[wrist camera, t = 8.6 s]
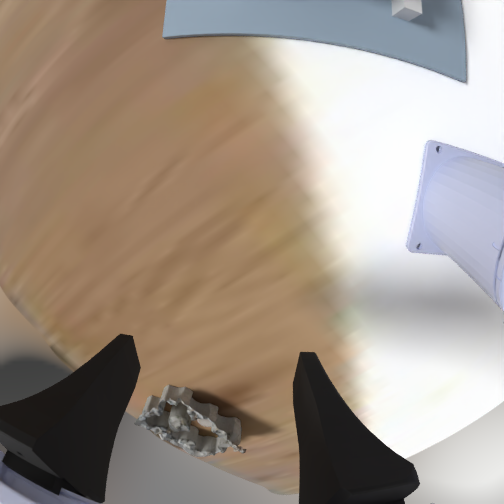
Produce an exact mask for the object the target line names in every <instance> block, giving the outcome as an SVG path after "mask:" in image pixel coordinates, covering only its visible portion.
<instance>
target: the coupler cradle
mask: <svg viewBox="0 0 504 504" xmlns="http://www.w3.org/2000/svg"><path fill="white" fill-rule="evenodd" d="M195 36H264V37H279V38H290V39H299V40H308V41H315V42H322V43H328V44H334V45H340V46H345V47H350V48H355V49H360V50H364V51H369V52H373V53H377V54H381V55H385V56H388V57H392V58H396V59H399V60H402V61H406V62H409V63H412V64H415V65H418V66H421V67H424V68H427V69H430V70H433V71H436V72H438V73H441V74H444V75H446V76H449V77H451V78H454V79H456V80H458V81H461V82H466V50H465V33H464V21H463V12H462V4H461V0H167V3H166V11H165V19H164V28H163V38H164V39H170V38H181V37H195Z"/></svg>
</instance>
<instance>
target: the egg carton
mask: <svg viewBox="0 0 504 504" xmlns="http://www.w3.org/2000/svg"><path fill="white" fill-rule="evenodd" d="M192 394H193V391H191V390H190V389H188V388H186V387H182V388H178V387H174V386H171V385H167V386H166V387H164V390H163V393H162V396H161V398H158V397H155V396H150V397H148V398H147V401H146V403H145V407H144V409H143V412H142V414H141V415H140V416H139V418H138V419H137V421H136V422H135V423H134V424H135V425H138V426H142V427H144V428H146V429H147V430H150V429H151V430H152V431H153V432H154V433H155V434H159V435H160V437H161V439H162V440H167V441H169V442H171V443H172V444H174V445H177V446H179V447H181V448H182V449H184V450H185V451H186V452H187V453H189V454H190V455H192V456H196V457H203V456H209V455H215V454H216V453H218V452H222V453H224V452H225V451H226V449H227V447H229V446H231V447H233V448H234V451H239V452H242V453H245V452H246V449H242V447H239V446H238V445H239V444H240V439H241V431H242V428H241V421H240V420H239V419H238V418H236V417H230V418H227V417H223V416H220V415H219V414H218V413H217V412H218V407H217V406H215V405H212V404H211V403H208V404H203V403H199V402H197V401H195V400H194V399H193V398H192ZM166 401H167V402H168V403H169V404H170V405H173V406H172V409H171V412H167V411H163V410H164V407H165V404H166ZM191 420H193V421H195V420H197V422H198V423H199V424H200V425H202V426H205V427H212V428H211V431H212V432H213V433H216V434H217V435H218V438H215V437H212V436H205V437H203V436H201V435H199V434H198V433H199V430H198V429H197V428H196V427H194V426H192V425H191Z"/></svg>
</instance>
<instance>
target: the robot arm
mask: <svg viewBox="0 0 504 504" xmlns="http://www.w3.org/2000/svg"><path fill="white" fill-rule="evenodd" d="M437 146H439V151H438V152H437V151H436V147H437ZM419 243H420V246H419V247H418V248H417V245H418V244H419ZM406 247H407V249H408V250H409V251H410V252H413V253H425V254H437V255H448V256H449V257H450V258H451V259H452V260H453V261H454V262H455V263H456V264H457V265H458V266H460V267H461V268H462V269H463V270H464V271H465V272H466V273H467V274H468V275H469V276H470V277H471V278H472V279H473V280H474V281H475V282H476V283H477V284H478V285H479V286H480V287H481V288H482V289H483V290H484V291H485V292H486V293H487V294H488V295H489V296H490V297H491V299H492V300H493V301H494V302H495V303H496V304H497V305H498V306H499V307H500V308H501V309H502V311H503V312H504V164H503V163H501V162H498V161H496V160H493V159H490V158H487V157H485V156H482V155H479V154H476V153H473V152H470V151H467V150H464V149H461V148H457V147H454V146H451V145H448V144H444V143H441V142H437V141H433V140H429V141H427V142H426V144H425V149H424V156H423V163H422V170H421V176H420V182H419V187H418V193H417V198H416V203H415V208H414V213H413V218H412V222H411V227H410V231H409V235H408V239H407V243H406ZM140 368H141V367H140V363H139V360H138V356H137V352H136V348H135V344H134V339H133V336H131V335H125V334H120V335H118V336H117V337H116V338H115V339H114V340H112V341H111V342H110V343H109V344H108V345H107V346H106V347H104V348H103V349H102V350H101V351H100V352H99V353H97V354H96V355H95V356H94V357H93V358H91V359H90V360H89V361H88V362H87V363H85V364H84V365H83V366H81V367H80V368H79V369H77V370H76V371H75V372H73V373H72V374H71V375H69V376H68V377H66V378H65V379H63V380H61V381H60V382H58V383H57V384H55V385H53V386H51V387H49V388H47V389H45V390H43V391H42V392H39V393H37V394H35V395H33V396H30V397H28V398H25V399H23V400H20V401H17V402H13V403H10V404H6V405H3V406H0V443H1V444H2V445H3V446H4V447H5V448H6V449H7V452H6V454H5V453H3V452H2V451H1V450H0V504H101V503H103V502H104V501H105V489H106V481H107V474H108V468H109V462H110V457H111V453H112V448H113V444H114V440H115V437H116V433H117V430H118V427H119V424H120V422H121V419H122V417H123V415H124V412H125V410H126V408H127V405H128V403H129V401H130V398H131V396H132V393H133V391H134V389H135V386H136V383H137V379H138V375H139V372H140ZM293 406H294V413H295V421H296V428H297V435H298V443H299V454H300V489H299V504H405V502H404V498H405V497H407V496H408V495H410V494H411V493H412V492H414V491H415V490H416V489H417V488H418V486H419V484H420V482H419V479H418V475H417V472H416V470H415V468H414V465H413V464H412V463H410V462H409V461H407V460H406V459H404V458H403V457H401V456H400V455H398V454H397V453H395V452H394V451H393V450H391V449H390V448H389V447H387V446H386V445H385V444H384V443H383V442H381V441H380V440H379V439H378V438H377V437H376V436H375V435H374V434H373V433H371V432H370V431H369V430H368V429H367V428H366V427H365V425H364V424H363V423H362V422H361V421H360V420H359V419H358V418H357V417H356V416H355V414H354V413H353V412H352V411H351V409H350V408H349V407H348V406H347V404H346V403H345V401H344V400H343V399H342V397H341V396H340V394H339V393H338V391H337V390H336V388H335V387H334V385H333V384H332V382H331V380H330V379H329V377H328V375H327V374H326V372H325V370H324V368H323V366H322V365H321V363H320V361H319V359H318V357H317V355H316V353H315V352H300V355H299V359H298V364H297V368H296V372H295V377H294V381H293ZM431 504H434V503H431Z"/></svg>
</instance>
